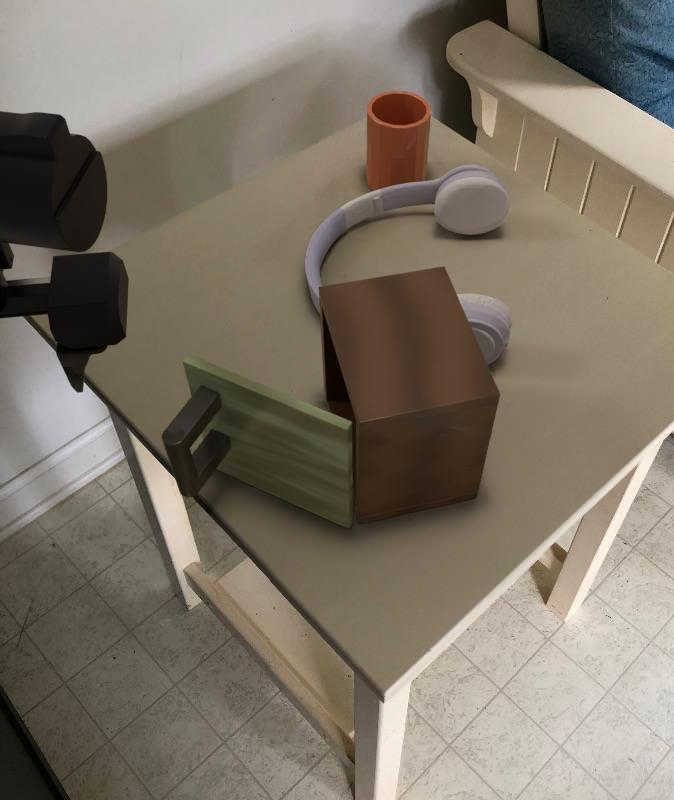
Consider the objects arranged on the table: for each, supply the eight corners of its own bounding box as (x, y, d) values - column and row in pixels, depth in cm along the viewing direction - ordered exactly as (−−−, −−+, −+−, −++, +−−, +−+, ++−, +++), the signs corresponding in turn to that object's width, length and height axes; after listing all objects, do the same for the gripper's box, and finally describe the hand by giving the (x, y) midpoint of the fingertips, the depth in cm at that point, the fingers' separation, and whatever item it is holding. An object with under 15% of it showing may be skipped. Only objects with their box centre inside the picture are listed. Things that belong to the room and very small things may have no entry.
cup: (365, 198, 90) (366, 126, 83) (366, 160, 94) (367, 89, 87) (426, 199, 91) (431, 128, 83) (424, 162, 95) (430, 91, 87)
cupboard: (359, 524, 66) (359, 422, 55) (324, 398, 73) (318, 286, 62) (477, 498, 68) (500, 394, 57) (431, 378, 75) (444, 265, 64)
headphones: (507, 214, 89) (324, 209, 91) (512, 159, 84) (317, 155, 85) (509, 373, 76) (294, 365, 77) (516, 321, 70) (283, 313, 71)
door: (316, 585, 63) (307, 491, 52) (172, 517, 66) (135, 415, 55) (353, 521, 66) (352, 421, 55) (215, 459, 69) (188, 353, 58)
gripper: (101, 116, 50) (152, 297, 62) (-234, 136, 47) (-111, 320, 60) (90, 240, 43) (150, 415, 56) (-300, 271, 41) (-146, 446, 53)
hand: (11, 394), depth 56 cm, fingers open, 9 cm apart
